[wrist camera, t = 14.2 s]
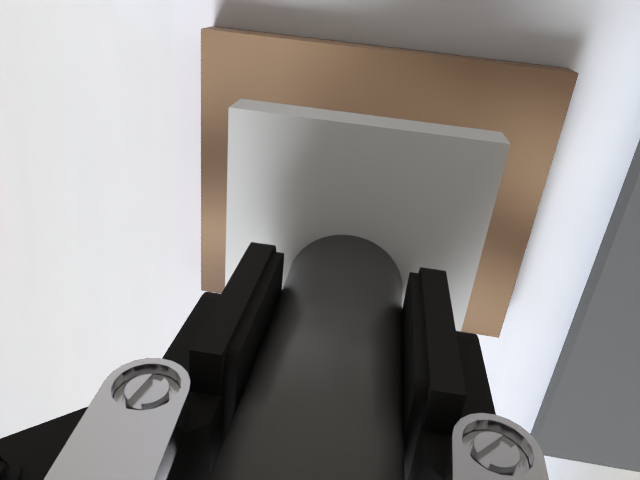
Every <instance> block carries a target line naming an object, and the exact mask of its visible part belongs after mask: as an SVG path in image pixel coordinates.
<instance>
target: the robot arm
mask: <svg viewBox="0 0 640 480" xmlns="http://www.w3.org/2000/svg"><path fill="white" fill-rule="evenodd" d="M283 267H284V253H280V252H276V246H275V245H269V244H262V243H255V242H251V243H250V245H249V246H248V248H247V250H246V251H245V253H244V255H243V257H242V258H241V260H240V262H239V264H238V265H237V267H236V269H235V271H234V272H233V274H232V276H231V278H230V279H229V281H228V283H227V285H226V286H225V288H224V290H223V292H222V293H221V294H218V293H212V292H205V293H204V294H203V295H202V296H201V298H200V300H199V301H198V303H197V304H196V306H195V307H194V309H193V311H192V312H191V314H190V315H189V317H188V318H187V320H186V322H185V323H184V325H183V326H182V328H181V330H180V331H179V333H178V334H177V336H176V337H175V339H174V341H173V342H172V344H171V345H170V347H169V348H168V350H167V352H166V353H165V355H164V356H163V358H146V359H140V360H135V361H132V362H130V363H127V364H125V365H122V366H121V367H119V368H118V369H116V370H115V371H113V372H112V373H111V374H110V375H109V376H108V377H107V379H106V380H105V381H104V382H103V384H102V386H101V387H100V389H99V391H98V392H97V394H96V395H95V397H94V399H93V400H92V402H91V403H90V405H89V406H88V407H86V408H83V409H80V410H77V411H75V412H72V413H69V414H67V415H64V416H61V417H58V418H56V419H53V420H50V421H48V422H45V423H42V424H39V425H37V426H34V427H31V428H28V429H26V430H23V431H20V432H18V433H15V434H12V435H9V436H7V437H4V438H1V439H0V480H209V479H210V476H211V473H212V471H213V468H214V466H215V463H216V460H217V458H218V455H219V452H220V450H221V447H222V445H223V442H224V439H225V437H226V434H227V432H228V429H229V426H230V424H231V421H232V419H233V416H234V413H235V411H236V409H237V406H238V403H239V401H240V398H241V396H242V393H243V390H244V388H245V385H246V383H247V380H248V377H249V375H250V372H251V370H252V367H253V364H254V362H255V359H256V356H257V354H258V351H259V349H260V346H261V343H262V341H263V338H264V336H265V333H266V330H267V328H268V325H269V323H270V320H271V317H272V315H273V312H274V309H275V307H276V304H277V302H278V299H279V296H280V294H281V291H282V280H283ZM402 343H403V435H404V471H405V480H549V478H548V473H547V469H546V464H545V459H544V455H543V453H542V450H541V448H540V446H539V444H538V443H537V442H536V440H535V439H534V438H533V437H532V435H531V434H530V433H528V432H527V431H526V430H525V429H524V428H522V427H521V426H520V425H518V424H516V423H514V422H512V421H511V420H509V419H507V418H504V417H501V416H498V415H496V414H495V409H494V405H493V401H492V396H491V392H490V387H489V383H488V378H487V374H486V370H485V365H484V361H483V356H482V352H481V347H480V343H479V339H478V336H477V335H476V334H473V333H467V332H461V331H456V328H455V322H454V316H453V310H452V304H451V298H450V292H449V286H448V280H447V274H446V271H444V270H437V269H430V268H424V267H420V269H419V273H414V272H410V274H409V278H408V282H407V287H406V292H405V298H404V303H403V308H402Z"/></svg>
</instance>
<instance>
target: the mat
mask: <svg viewBox="0 0 640 480" xmlns="http://www.w3.org/2000/svg"><path fill="white" fill-rule="evenodd" d="M531 435H532V437H533V438H534V439H535V440H536V442H537V443H538V444H539V446H540V448H541V450H542V453H543V455H545V456H551V457H557V458H562V459H568V460H574V461H580V462H585V463H591V464H597V465H602V466H608V467H614V468H619V469H625V470H631V471H637V472H640V141H639V144H638V146H637V149H636V152H635V154H634V157H633V160H632V162H631V165H630V168H629V171H628V173H627V176H626V179H625V181H624V184H623V187H622V189H621V192H620V195H619V198H618V200H617V203H616V206H615V208H614V211H613V214H612V216H611V219H610V222H609V225H608V227H607V230H606V233H605V235H604V238H603V241H602V243H601V246H600V249H599V251H598V254H597V257H596V260H595V262H594V265H593V268H592V270H591V273H590V276H589V278H588V281H587V284H586V287H585V289H584V292H583V295H582V297H581V300H580V303H579V305H578V308H577V311H576V313H575V316H574V319H573V322H572V324H571V327H570V330H569V332H568V335H567V338H566V340H565V343H564V346H563V349H562V351H561V354H560V357H559V359H558V362H557V365H556V367H555V370H554V373H553V375H552V378H551V381H550V384H549V386H548V389H547V392H546V394H545V397H544V400H543V402H542V405H541V408H540V411H539V413H538V416H537V419H536V421H535V424H534V427H533V429H532V432H531Z"/></svg>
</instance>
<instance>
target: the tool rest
mask: <svg viewBox="0 0 640 480" xmlns="http://www.w3.org/2000/svg"><path fill="white" fill-rule="evenodd" d="M577 77H578V73H577V72H574V71H572V70H570V69H568V68H561V67H553V66H544V65H536V64H527V63H519V62H510V61H502V60H493V59H485V58H476V57H468V56H459V55H451V54H442V53H434V52H425V51H417V50H408V49H400V48H391V47H383V46H374V45H366V44H357V43H349V42H340V41H332V40H323V39H315V38H306V37H298V36H289V35H281V34H272V33H264V32H255V31H247V30H238V29H230V28H221V27H208V28H203V29H201V290H203V291H209V292H215V293H222V292H223V290H224V288H225V260H226V211H227V162H228V113H229V107H230V106H231V105H233V104H234V103H235V102H237V101H238V100H240V99H248V100H256V101H264V102H271V103H279V104H287V105H295V106H303V107H311V108H318V109H326V110H334V111H342V112H350V113H357V114H365V115H373V116H381V117H389V118H396V119H404V120H412V121H420V122H428V123H435V124H443V125H451V126H459V127H467V128H474V129H482V130H490V131H498V132H502V133H503V134H504V135H505V137H506V138H507V140H508V141H509V143H510V148H509V152H508V155H507V159H506V163H505V167H504V171H503V174H502V178H501V182H500V186H499V189H498V193H497V197H496V201H495V205H494V208H493V212H492V216H491V220H490V224H489V227H488V231H487V235H486V239H485V243H484V246H483V250H482V254H481V258H480V261H479V265H478V269H477V273H476V277H475V280H474V284H473V288H472V292H471V296H470V299H469V303H468V307H467V311H466V314H465V318H464V322H463V326H462V330H461V332H467V333H473V334H480V335H486V336H492V337H499V335H500V332H501V329H502V325H503V322H504V319H505V315H506V312H507V309H508V305H509V302H510V299H511V295H512V292H513V289H514V286H515V282H516V279H517V276H518V272H519V269H520V266H521V262H522V259H523V256H524V252H525V249H526V246H527V242H528V239H529V236H530V233H531V229H532V226H533V223H534V219H535V216H536V213H537V209H538V206H539V203H540V199H541V196H542V193H543V189H544V186H545V183H546V179H547V176H548V173H549V170H550V166H551V163H552V160H553V156H554V153H555V150H556V146H557V143H558V140H559V136H560V133H561V130H562V126H563V123H564V120H565V117H566V113H567V110H568V107H569V103H570V100H571V97H572V93H573V90H574V87H575V83H576V80H577Z"/></svg>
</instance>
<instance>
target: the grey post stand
mask: <svg viewBox="0 0 640 480" xmlns="http://www.w3.org/2000/svg"><path fill="white" fill-rule="evenodd" d="M509 148H510V143H509V141H508V140H507V138H506V137H505V135H504V134H503V133H502V132H498V131H490V130H482V129H474V128H467V127H459V126H451V125H443V124H435V123H428V122H420V121H412V120H404V119H396V118H389V117H381V116H373V115H365V114H357V113H350V112H342V111H334V110H326V109H318V108H311V107H303V106H295V105H287V104H279V103H271V102H264V101H256V100H248V99H240V100H238V101H237V102H235V103H234V104H233V105H231V106H230V107H229V113H228V162H227V211H226V260H225V286H226V285H227V283H228V281H229V279H230V278H231V276H232V274H233V272H234V271H235V269H236V267H237V265H238V264H239V262H240V260H241V258H242V257H243V255H244V253H245V251H246V250H247V248H248V246H249V245H250V243H251V242H255V243H262V244H269V245H275V246H276V252H280V253H284V267H283V280H282V291H281V294H280V296H279V299H278V302H277V304H276V307H275V309H274V312H273V315H272V317H271V320H270V323H269V325H268V328H267V330H266V333H265V336H264V338H263V341H262V343H261V346H260V349H259V351H258V354H257V356H256V359H255V362H254V364H253V367H252V370H251V372H250V375H249V377H248V380H247V383H246V385H245V388H244V390H243V393H242V396H241V398H240V401H239V403H238V406H237V409H236V411H235V413H234V416H233V419H232V421H231V424H230V426H229V429H228V432H227V434H226V437H225V439H224V442H223V445H222V447H221V450H220V452H219V455H218V458H217V460H216V463H215V466H214V468H213V471H212V473H211V476H210V479H209V480H405V471H404V435H403V343H402V308H403V303H404V298H405V292H406V287H407V282H408V278H409V274H410V272H414V273H419V269H420V267H424V268H430V269H437V270H444V271H446V274H447V280H448V286H449V292H450V298H451V304H452V310H453V316H454V322H455V328H456V331H461V330H462V326H463V322H464V318H465V314H466V311H467V307H468V303H469V299H470V296H471V292H472V288H473V284H474V280H475V277H476V273H477V269H478V265H479V261H480V258H481V254H482V250H483V246H484V243H485V239H486V235H487V231H488V227H489V224H490V220H491V216H492V212H493V208H494V205H495V201H496V197H497V193H498V189H499V186H500V182H501V178H502V174H503V171H504V167H505V163H506V159H507V155H508V152H509Z"/></svg>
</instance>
